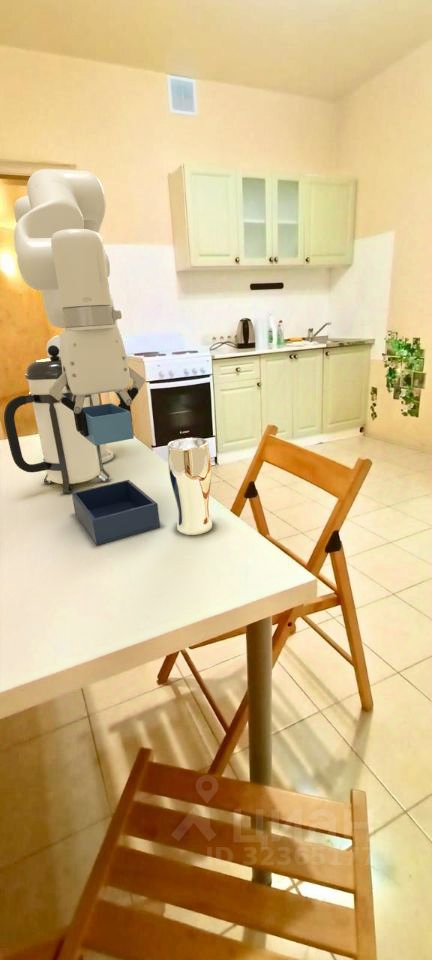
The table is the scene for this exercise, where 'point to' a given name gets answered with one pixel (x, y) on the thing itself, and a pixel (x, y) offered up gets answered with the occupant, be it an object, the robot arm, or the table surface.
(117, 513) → the big bin
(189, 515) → the beer glass
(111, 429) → the small bin
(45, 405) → the coffee press
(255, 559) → the table surface
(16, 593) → the table surface
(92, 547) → the table surface
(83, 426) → the robot arm
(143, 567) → the table surface
